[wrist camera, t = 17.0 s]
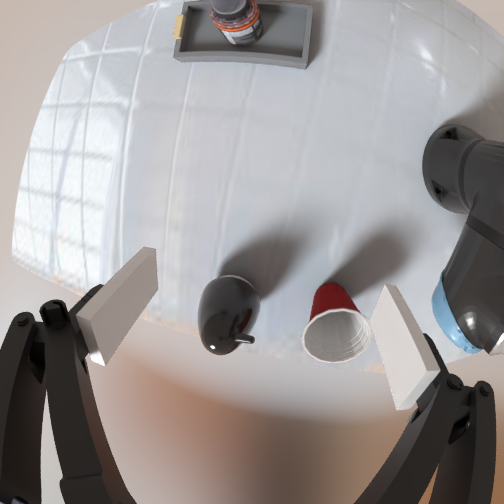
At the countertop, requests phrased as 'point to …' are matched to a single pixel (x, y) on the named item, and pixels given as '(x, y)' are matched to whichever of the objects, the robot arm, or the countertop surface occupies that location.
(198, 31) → the trough
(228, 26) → the supplement bottle
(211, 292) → the pump dispenser
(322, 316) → the plastic cup
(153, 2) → the countertop surface
